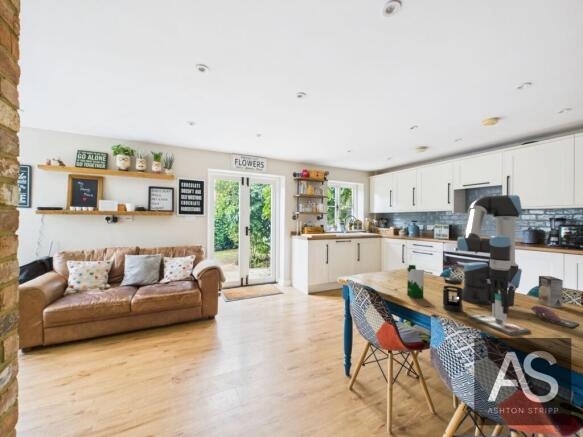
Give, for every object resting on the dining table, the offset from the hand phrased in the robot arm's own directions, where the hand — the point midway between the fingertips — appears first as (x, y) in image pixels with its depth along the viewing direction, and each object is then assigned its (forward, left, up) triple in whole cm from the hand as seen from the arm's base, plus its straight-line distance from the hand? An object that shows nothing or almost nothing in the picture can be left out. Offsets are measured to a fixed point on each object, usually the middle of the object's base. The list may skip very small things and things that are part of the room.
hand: (499, 318), depth 118 cm
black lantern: (-22, -4, -4) cm, 23 cm away
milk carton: (-47, -7, -4) cm, 48 cm away
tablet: (-1, 0, -3) cm, 4 cm away
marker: (0, 0, -2) cm, 2 cm away
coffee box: (-16, +60, -4) cm, 63 cm away
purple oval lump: (-2, +33, -4) cm, 33 cm away
